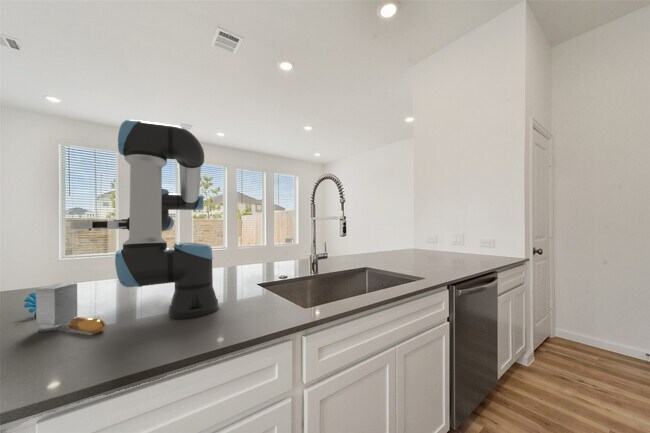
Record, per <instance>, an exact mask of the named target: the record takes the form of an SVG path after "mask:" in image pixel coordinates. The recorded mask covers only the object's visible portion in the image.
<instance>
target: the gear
mask: <svg viewBox="0 0 650 433" xmlns="http://www.w3.org/2000/svg"><path fill="white" fill-rule="evenodd" d="M24 303H25V304H24V308H29V309H28V312H29V313H30V314H31V313H34V314H36V292H32V293H30V294H29V295H28V297H26V298H25V299H24Z"/></svg>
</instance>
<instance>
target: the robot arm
mask: <svg viewBox="0 0 650 433" xmlns="http://www.w3.org/2000/svg"><path fill="white" fill-rule="evenodd" d="M118 129H119V130H118V134H117V143H118V144H117V148H118V152H119V154H120V155H121V156H124V161H125V162H126V163H128V165H129V171H130V173H129V217H127V218H124V219H123V218H122V219H113V220H107V221H92V220H88V221H87V220H86V221H85V220H84V221H83V220H82V221H80V220H77V221H76V220H75V221H70V230H88V231H92V229H107V230H113V229H114V230H128V231H129V232H128V239H127V240H125V241H124V242H123V243H122V249H119V250H117V251H116V252H115V256H114V258H115V259H114V262H115V264H114V265H115V266H114V267H115V271H116V275H117V278H118V281H119V284H121V286H123V287H125V288H135V287H139V288H141V287H146V286H153V285H154V286H155V285H165V284H172V283H174V292H173V296H172V298H171V301H170V302H171V303H170V305H169V307H168V317H170V318H172V319H178V320H179V319H183V320H184V319H194V318H199V317H203V316H207V315H209V314H212V313H213V312H215V311H217V310H218V309H219V299H218V298H217V295H216V292H215V288H214V285H213V282H214V281H213V276H214V275H213V260H214V257H213V249H212V247H211V246H210V245H209V244H205V243H197V242H175V243H174V245H173V247H172V246H171V247H168V246H167V245H168V242H167V241H166V240H165V239H164V238H163V237H162V232H166V231H170V230H172V228H173V227H174V225H175V221H174V219H173V217H172V216H171V215H169V211H170V210H171V211H173V210H175V211H180V210H182V211H196V210H200V211H201V210H203V209H204V195H202V194H200V188H201V185H200V184H201V175H202V174H201V172H202V169H201V168H202V166H203V165H204V162H205V151H204V148H203V146H202V144H201V143H200V141H199V140H198V138H197V137H196V136H195V135H194V134H193V133H192V132H191V131H190V130H188V129H186V128H184V127H182V126H179V125H176V124H175V125H173V124H166V123H160V122H152V121H145V120H144V121H143V120H141V119H139V120H135V119H126V120H124V121H123V122H122V123H121V124H120V127H119V128H118ZM168 160H175V161H176V162H177V164H178V165H179V179H180V180H179V182H180V187H179V188H180V193H170V192H169V190H168V189H165V188H162V178H163V177H162V176H163V175H162V174H163V173H162V168H164V167H165V166H167V164H168V163H167V162H168Z"/></svg>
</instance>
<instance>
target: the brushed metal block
mask: <svg viewBox="0 0 650 433" xmlns="http://www.w3.org/2000/svg"><path fill="white" fill-rule="evenodd" d="M35 291H36V292H35V293H36V295H35V296H36V313H35V316H36V319H35V320H36V323H35V324H36V325H40V324H53V325H55V324H58V323H61V322H63V321H66V320H69V319H72V318H76V317H78V283H77V282H74V283H73V282H59V283H54V284H50V285H45V286H41V287H37V288H36V289H35Z"/></svg>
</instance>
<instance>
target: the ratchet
mask: <svg viewBox="0 0 650 433" xmlns="http://www.w3.org/2000/svg"><path fill="white" fill-rule="evenodd" d="M106 325H107V323H106V321H105V320H103V319H99V318H92V317H91V318H90V317H83V316H77V317H75V318H72V319H69V320H66V321H63V322H61V323H58V324H55V325H53V324H39V332H40V333H50V332H57V331H61V332H68V333H74V334H79V333H80V334H81V335H86V336H87V335H88V336H93V335H95V334H100V333H101V332H103V331H104V330H105V329H106ZM80 334H79V335H80Z"/></svg>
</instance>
